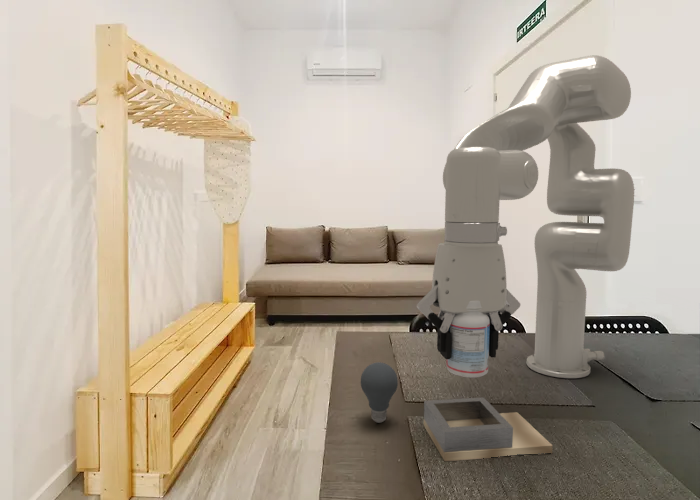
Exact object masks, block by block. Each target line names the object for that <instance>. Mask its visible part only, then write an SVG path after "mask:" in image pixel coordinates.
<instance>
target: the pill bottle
mask: <svg viewBox="0 0 700 500" xmlns="http://www.w3.org/2000/svg"><path fill="white" fill-rule="evenodd" d="M466 308H467V309H468V310H467V311H470V312H467V313H463V314H455V315H454V317H453V320H452V322H451V324H450V327H449V332H451V333H452V350H451V358H450V359H445V360H446V361H445V363H446V365H445V366H446V369H447V370H448V372H449V373H451V374H453V375H456V376H459V377H464V378H471V379H473V378H480V377H483V376H486V375H487V373H488V372H489V362H490V359H489V357H490V356H489V330H490V320H489V317H488V315H487V314H486V313H481V312H478V310H481V309H480V308H482V307H481V304H480V301H470V302H469V304H468V306H467V307H466Z"/></svg>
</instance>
